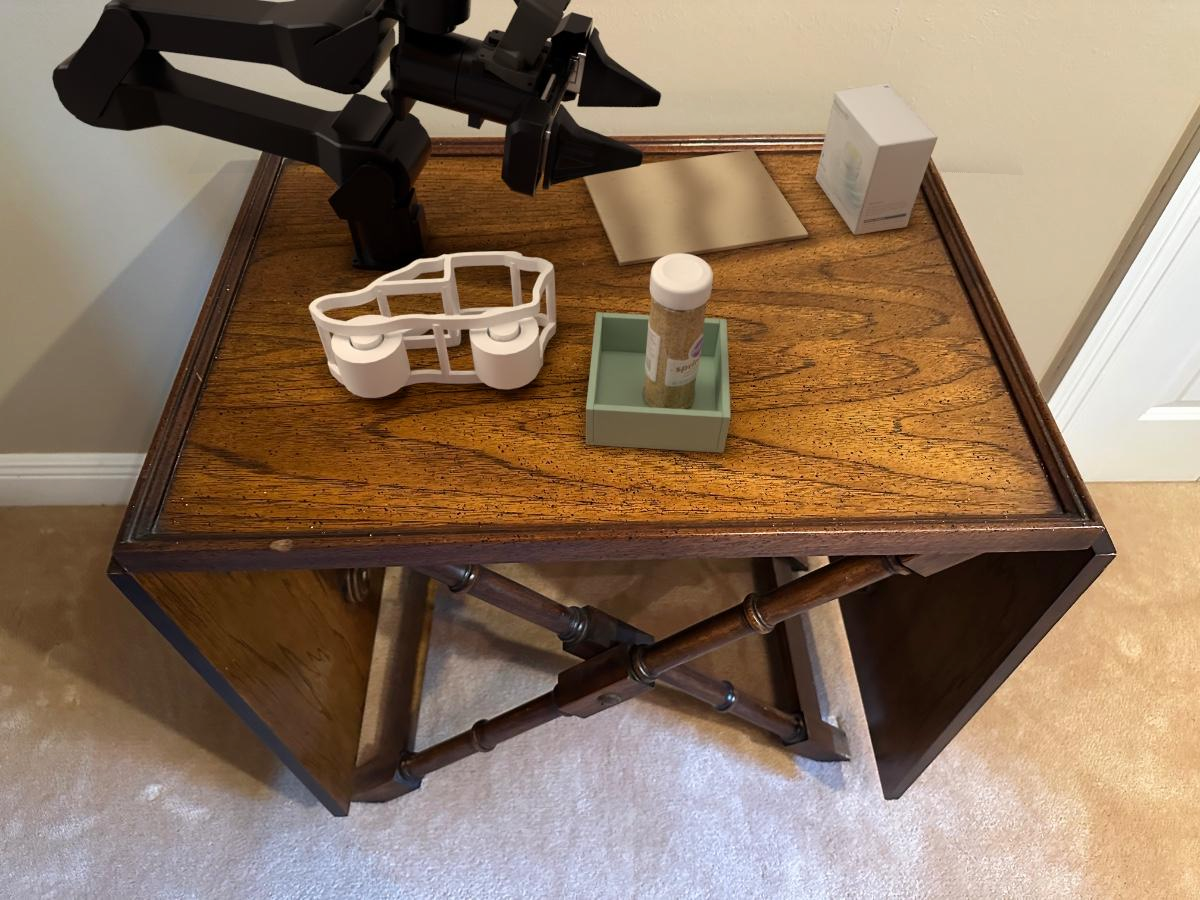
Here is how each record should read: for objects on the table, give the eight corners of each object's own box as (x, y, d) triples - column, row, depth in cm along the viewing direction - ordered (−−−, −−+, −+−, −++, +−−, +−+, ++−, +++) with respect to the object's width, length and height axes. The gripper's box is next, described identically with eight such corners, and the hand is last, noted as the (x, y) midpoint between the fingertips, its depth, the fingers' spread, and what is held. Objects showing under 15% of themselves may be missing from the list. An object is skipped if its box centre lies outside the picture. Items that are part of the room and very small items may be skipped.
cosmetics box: (811, 179, 92) (833, 88, 83) (865, 172, 93) (891, 81, 84) (851, 236, 85) (879, 143, 77) (908, 228, 86) (942, 135, 78)
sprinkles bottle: (687, 421, 69) (706, 296, 58) (635, 408, 70) (643, 283, 59) (700, 383, 71) (720, 257, 61) (649, 371, 72) (660, 245, 62)
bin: (586, 444, 68) (585, 409, 64) (595, 348, 75) (596, 311, 71) (723, 453, 67) (730, 417, 64) (720, 355, 74) (726, 318, 71)
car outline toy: (324, 414, 69) (301, 351, 63) (337, 324, 76) (317, 260, 70) (563, 399, 71) (561, 336, 65) (554, 311, 77) (552, 247, 72)
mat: (619, 266, 82) (619, 262, 81) (582, 176, 91) (582, 172, 91) (807, 237, 85) (808, 233, 85) (752, 153, 95) (752, 149, 94)
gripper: (431, 29, 55) (657, 93, 55) (505, -76, 66) (692, -22, 67) (428, 172, 64) (623, 227, 64) (494, 58, 75) (659, 105, 76)
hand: (651, 128), depth 67 cm, fingers open, 9 cm apart
